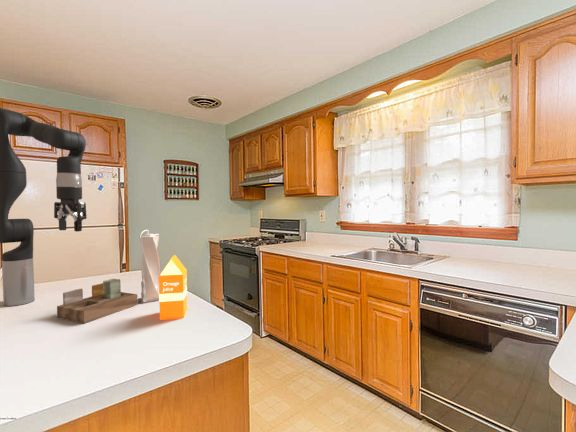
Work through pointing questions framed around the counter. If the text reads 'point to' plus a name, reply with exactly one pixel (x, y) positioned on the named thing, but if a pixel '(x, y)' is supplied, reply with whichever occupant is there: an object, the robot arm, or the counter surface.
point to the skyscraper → (150, 268)
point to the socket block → (92, 305)
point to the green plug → (111, 288)
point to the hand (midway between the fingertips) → (70, 230)
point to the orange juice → (173, 290)
